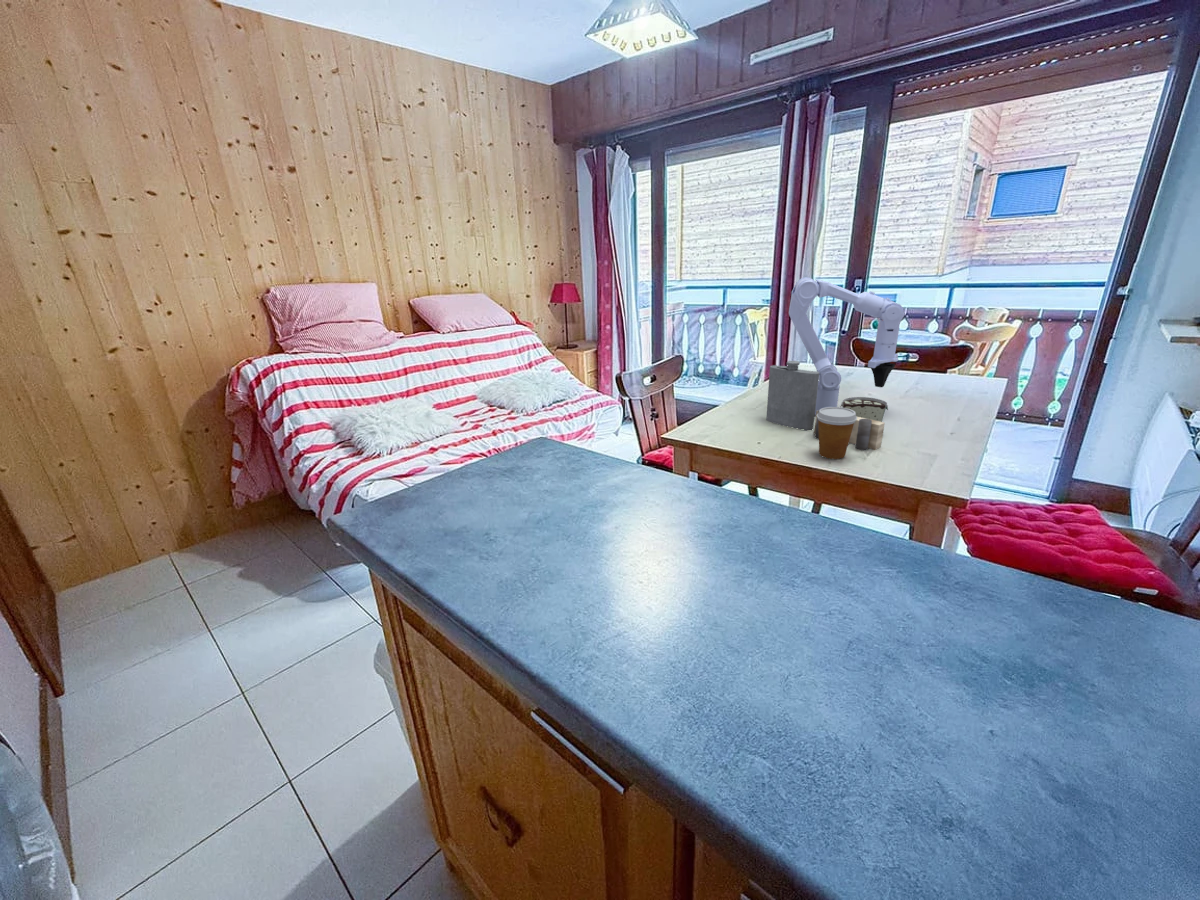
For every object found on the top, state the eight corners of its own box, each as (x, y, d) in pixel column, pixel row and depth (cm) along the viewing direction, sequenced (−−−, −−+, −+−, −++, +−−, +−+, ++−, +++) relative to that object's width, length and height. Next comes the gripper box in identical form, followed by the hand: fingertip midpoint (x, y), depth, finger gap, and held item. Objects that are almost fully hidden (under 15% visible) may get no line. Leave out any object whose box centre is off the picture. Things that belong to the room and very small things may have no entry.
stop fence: (808, 436, 147) (810, 410, 144) (819, 431, 150) (822, 405, 147) (869, 452, 133) (874, 424, 130) (880, 446, 136) (885, 419, 133)
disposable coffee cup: (832, 464, 128) (838, 420, 123) (804, 452, 136) (809, 410, 131) (860, 457, 131) (866, 413, 127) (831, 445, 139) (836, 404, 135)
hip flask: (815, 428, 152) (822, 363, 145) (807, 432, 150) (814, 366, 143) (770, 417, 164) (774, 357, 157) (762, 420, 162) (766, 359, 154)
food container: (879, 429, 149) (884, 396, 145) (883, 436, 143) (889, 402, 140) (833, 427, 152) (837, 395, 148) (836, 434, 147) (840, 401, 143)
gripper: (887, 348, 145) (880, 393, 150) (911, 340, 153) (903, 384, 158) (863, 345, 150) (857, 389, 155) (887, 338, 158) (880, 380, 163)
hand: (879, 386), depth 157 cm, fingers closed
